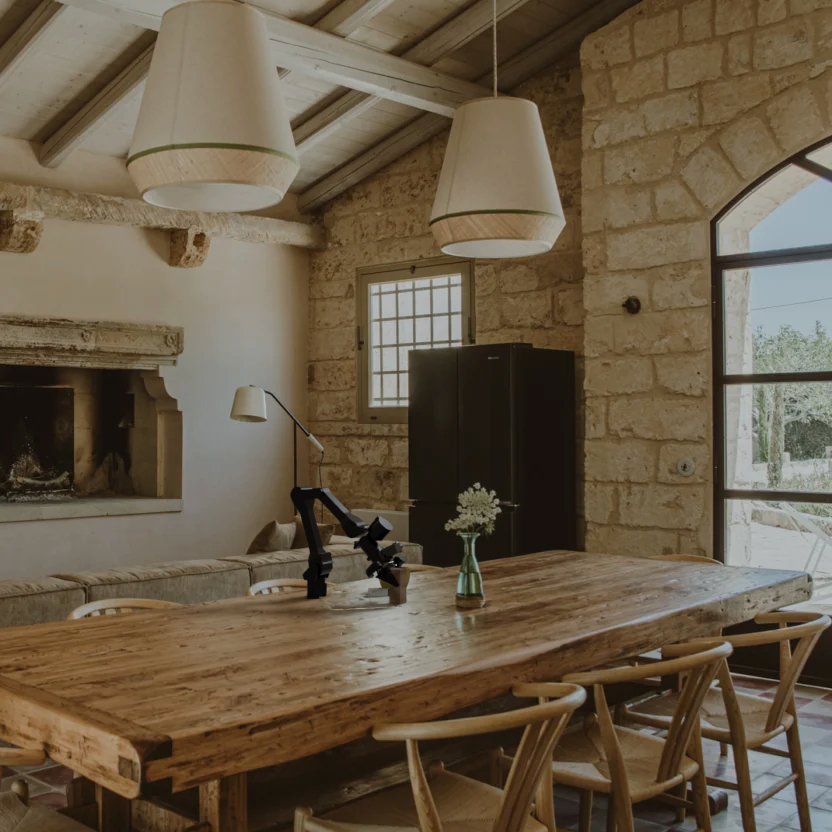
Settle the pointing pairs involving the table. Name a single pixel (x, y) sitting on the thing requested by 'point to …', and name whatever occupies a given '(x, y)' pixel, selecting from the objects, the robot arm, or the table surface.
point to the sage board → (384, 599)
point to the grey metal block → (378, 592)
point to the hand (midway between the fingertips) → (401, 585)
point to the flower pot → (408, 569)
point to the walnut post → (398, 593)
